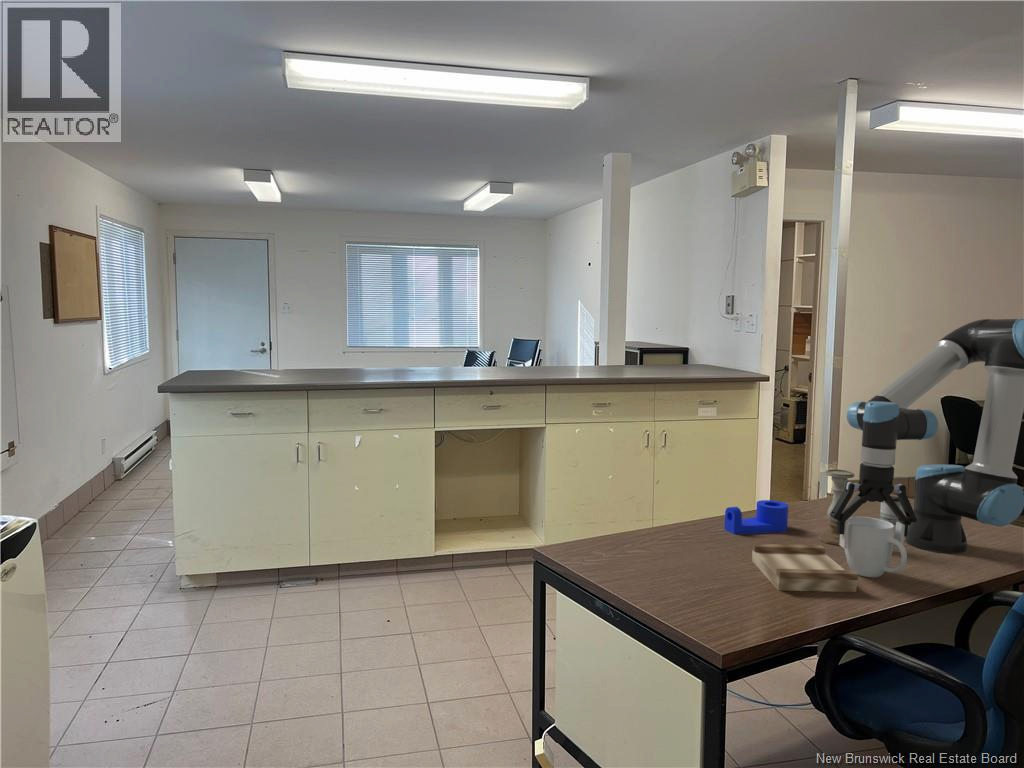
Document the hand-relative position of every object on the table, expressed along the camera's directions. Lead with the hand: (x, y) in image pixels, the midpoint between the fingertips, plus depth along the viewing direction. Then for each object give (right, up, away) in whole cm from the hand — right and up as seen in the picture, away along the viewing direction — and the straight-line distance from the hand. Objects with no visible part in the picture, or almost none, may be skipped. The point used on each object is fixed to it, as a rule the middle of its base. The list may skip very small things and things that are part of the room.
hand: (870, 548), depth 173 cm
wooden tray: (-18, -7, -1) cm, 19 cm away
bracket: (-15, -4, +38) cm, 41 cm away
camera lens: (+31, -3, +47) cm, 56 cm away
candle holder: (+4, -5, +27) cm, 28 cm away
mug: (0, -7, +1) cm, 7 cm away
